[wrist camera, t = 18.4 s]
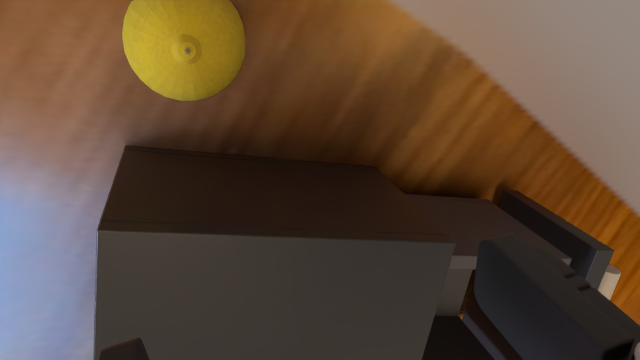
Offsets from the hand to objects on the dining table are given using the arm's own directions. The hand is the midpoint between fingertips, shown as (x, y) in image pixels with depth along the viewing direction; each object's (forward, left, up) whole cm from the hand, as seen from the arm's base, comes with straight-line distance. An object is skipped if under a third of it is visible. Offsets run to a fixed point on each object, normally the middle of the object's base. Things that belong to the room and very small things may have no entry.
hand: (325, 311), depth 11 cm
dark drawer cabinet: (+9, +2, -20) cm, 22 cm away
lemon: (-4, -3, -20) cm, 20 cm away
